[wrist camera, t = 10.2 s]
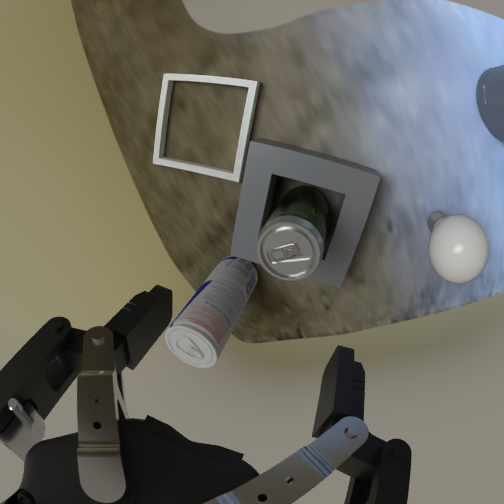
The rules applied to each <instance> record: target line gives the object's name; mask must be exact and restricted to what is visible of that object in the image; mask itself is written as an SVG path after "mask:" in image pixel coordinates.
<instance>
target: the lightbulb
mask: <svg viewBox="0 0 504 504" xmlns="http://www.w3.org/2000/svg"><path fill="white" fill-rule="evenodd" d="M427 224H428V228H429V230H430V231H431V232H432V234H431V236H430V240H429V246H428V252H429V258H430V262H431V264H432V266H433V268H434V270H435V271H436V272H437V274H438V275H439V276H440V277H442V278H443V279H444V280H446V281H448V282H451V283H456V284H461V283H466V282H469V281H471V280H473V279H475V278H476V277H477V276H478V275H479V274H480V273H481V272H482V270H483V269H484V267H485V265H486V263H487V260H488V255H489V243H488V239H487V236H486V233H485V231H484V229H483V228H482V226H481V225H480V224H479V223H478V222H477V221H476V220H474V219H473V218H471V217H469V216H466V215H461V214H456V215H451V216H448V217H447V216H446V215H445V213H443V212H441V211H436V212H433V213H432V214H431V215H430V216H429V218H428V222H427Z"/></svg>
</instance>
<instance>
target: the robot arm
mask: <svg viewBox="0 0 504 504" xmlns="http://www.w3.org/2000/svg"><path fill="white" fill-rule="evenodd" d="M476 96H477V104H478V108H479V112H480V115H481V117H482V120H483V121H484V123H485V125H486V127H487V128H488V129H489V131H490V132H491V133H492V134H493V135H494V136H495V137H496V138H498V139H499V140H501V141H503V142H504V65H502V66H498V67H494V68H490V69H488V70H486V71H485V72H484V73H483V74H482V75H481V77H480V79H479V81H478V85H477V93H476ZM171 318H172V290H169V289H167V288H165V287H162V286H159V285H156V286H155V287H154V288H153V289H152V290H151V291H150V292H146V291H144V292H142V293H140V294H137V295H135V296H134V297H133V298H132V299H131V300H130V301H129V303H127V304H126V305H125V306H124V308H122V309H121V310H120V311H119V312H118V313H117V314H116V315H115V316H114V317H113V318H112V319H111V320H110V321H109V322H108V323H107V324H106V325H105V326H104V327H103V326H96V327H92V328H90V329H89V330H87V331H84V330H80V329H76V328H72V327H71V324H70V322H69V320H68V319H66V318H64V317H54V318H52V319H50V320H49V321H48V322H47V323H46V324H45V325H44V326H43V327H42V328H41V329H40V330H39V331H38V332H37V333H36V334H35V335H34V336H33V337H32V338H31V339H30V340H29V341H28V342H27V343H26V344H25V345H24V346H23V347H22V348H21V349H20V350H19V351H18V352H17V353H16V354H15V355H14V357H13V358H12V359H11V360H10V361H9V362H8V363H7V364H6V365H5V366H4V367H3V369H2V370H1V371H0V442H1V443H3V444H4V445H5V446H7V447H8V448H9V449H10V450H12V451H13V452H14V453H15V454H16V455H18V456H19V457H20V458H21V459H22V460H23V461H24V462H25V463H24V474H23V478H22V482H21V485H20V487H19V489H18V490H17V491H16V492H15V494H13V495H12V496H10V497H9V498H8V499H6V500H5V501H3V502H2V503H1V504H292V503H293V502H295V501H296V500H298V499H299V498H300V497H302V496H303V495H304V494H306V493H307V492H309V491H310V490H311V489H312V488H314V487H315V486H316V485H318V484H319V483H320V482H321V481H323V480H324V479H325V478H326V477H327V476H329V474H331V472H332V471H333V470H335V469H337V470H339V471H341V472H343V473H345V474H347V475H349V476H351V478H350V482H349V487H348V491H347V495H346V499H345V503H344V504H407V499H408V490H409V481H410V470H411V449H410V447H409V445H408V444H407V443H406V442H405V441H403V440H401V439H392V440H389V441H388V442H386V441H384V440H382V439H379V438H377V437H376V436H374V435H372V434H371V433H370V432H369V431H368V428H367V425H366V424H365V423H364V418H363V417H364V395H365V391H364V390H365V384H364V383H365V371H364V369H363V366H362V364H361V363H359V362H355V361H354V349H351V348H347V347H343V346H339V345H338V346H337V348H336V350H335V351H334V353H333V355H332V357H331V359H330V360H329V362H328V364H327V366H326V368H325V371H324V374H323V377H322V383H321V390H320V395H319V402H318V407H317V413H316V418H315V423H314V428H313V433H312V437H315V438H317V439H316V440H315V441H313V442H312V443H311V444H309V445H308V446H306V447H303V448H301V449H299V450H298V451H297V452H295V453H294V454H292V455H291V456H289V457H288V458H286V459H285V460H284V461H282V462H280V463H279V464H277V465H276V466H274V467H272V468H271V469H269V470H267V471H266V472H264V473H263V474H261V475H259V473H258V472H257V471H256V470H255V469H254V468H253V467H252V466H251V465H249V464H248V463H247V462H245V461H244V460H242V458H243V455H244V454H242V453H239V452H235V451H233V450H230V449H227V448H224V447H221V446H217V445H210V444H203V443H197V442H192V441H190V440H188V439H187V438H185V437H184V436H183V435H181V434H180V433H179V432H178V431H176V430H175V429H174V428H172V427H171V426H170V425H168V424H165V423H163V422H161V421H159V420H157V419H155V418H153V417H151V416H149V415H147V417H146V419H145V420H143V419H134V418H132V419H131V418H129V417H128V413H127V409H126V403H125V395H124V385H123V375H122V371H123V369H124V368H125V367H128V368H130V369H132V370H134V368H135V367H136V366H137V365H138V363H139V362H140V361H141V359H142V358H143V357H144V356H145V354H146V353H147V352H148V350H149V349H150V348H151V346H152V345H153V344H154V342H156V340H157V339H158V337H159V336H160V335H161V334H162V333H163V331H164V330H165V329H166V327H167V326H168V325H169V323H170V321H171ZM51 362H52V363H51ZM50 363H51V364H50ZM77 376H78V377H77ZM76 377H77V419H78V432H76V433H72V434H68V435H64V436H61V437H56V438H52V439H47V440H44V441H42V438H43V437H44V431H45V422H44V420H45V418H46V417H47V416H48V414H49V413H50V411H51V410H52V409H53V407H54V406H55V405H56V403H57V402H58V401H59V399H60V398H61V397H62V395H63V394H64V393H65V391H66V390H67V389H68V387H69V386H70V385H71V383H72V382H73V381H74V380H75V378H76Z"/></svg>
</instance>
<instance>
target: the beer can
mask: <svg viewBox="0 0 504 504" xmlns="http://www.w3.org/2000/svg"><path fill="white" fill-rule="evenodd" d="M328 211H329V208H328V203H327V200H326V199H325V197H324V195H323V194H322V193H321V192H320V191H319V190H317V189H315V188H313V187H310V186H298V187H295V188H293V189H291V190H289V191H288V192H287V193H286V194H285V196H284V197H283V198H282V200H281V201H280V203H279V204H278V206H277V207H276V209H275V210H274V212H273V213H272V215H271V216H270V217H269V219H268V220H267V222H266V223H265V225H264V226H263V228H262V230H261V232H260V234H259V236H258V244H257V254H258V258H259V261H260V263H261V264H262V266H263V268H264V269H265V270H266V271H267V272H269V273H270V274H271V275H272V276H274V277H276V278H279V279H282V280H287V281H295V280H300V279H303V278H305V277H308V276H309V275H310V274H311V273H312V272H313V271H314V270H315V269H316V267H317V266H318V265H319V263H320V261H321V260H322V257H323V252H324V246H325V238H326V229H327V221H328Z"/></svg>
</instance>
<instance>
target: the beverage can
mask: <svg viewBox="0 0 504 504" xmlns="http://www.w3.org/2000/svg"><path fill="white" fill-rule="evenodd" d="M257 281H258V273H257V270H256V268H255V266H254V265H253V264H252V263H251V262H250V261H248V260H245V259H242V258H238V257H235V256H232V255H230V256H227V257H225V258H223V259H222V260H221V261H220V263H219V264H218V265H217V266H216V268H215V269H214V270H213V272H212V273H211V274H210V275H209V277H208V278H207V279H206V280H205V282H204V283H203V284H202V285H201V287H200V288H199V289H198V291H197V292H196V293H195V294H194V296H193V297H192V298H191V300H190V301H189V302H188V303H187V305H186V306H185V308H184V309H183V310H182V311H181V313H180V314H179V315H178V317H177V318H176V319H175V320H174V322H173V323H172V324H171V325H170V328H169V329H168V330H167V332H166V335H165V339H166V343H167V345H168V347H169V349H170V350H171V351H172V353H174V355H175V356H177V357H178V358H179V359H180V360H182V361H183V362H185V363H187V364H189V365H191V366H194V367H199V368H208V367H211V366H213V365H214V364H215V363H216V361H217V359H218V357H219V356H220V354H221V352H222V350H223V348H224V346H225V344H226V343H227V341H228V339H229V337H230V335H231V333H232V331H233V329H234V327H235V325H236V323H237V321H238V319H239V317H240V315H241V313H242V311H243V309H244V307H245V305H246V303H247V301H248V300H249V298H250V296H251V294H252V292H253V290H254V288H255V286H256V284H257Z"/></svg>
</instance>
